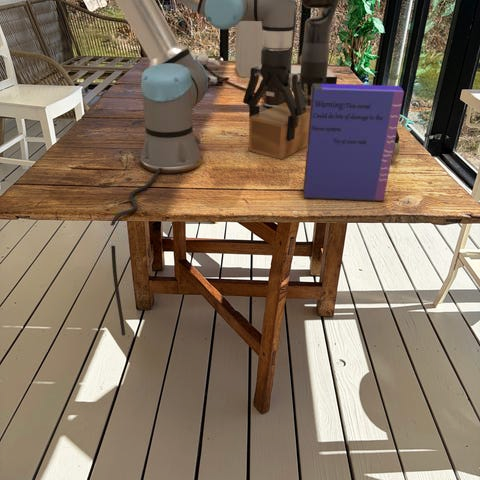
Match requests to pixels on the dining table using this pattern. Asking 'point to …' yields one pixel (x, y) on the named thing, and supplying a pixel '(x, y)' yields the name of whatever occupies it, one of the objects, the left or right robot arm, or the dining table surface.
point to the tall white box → (248, 47)
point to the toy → (204, 59)
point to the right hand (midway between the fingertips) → (309, 119)
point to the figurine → (217, 79)
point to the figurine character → (396, 146)
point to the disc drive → (329, 78)
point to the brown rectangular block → (277, 132)
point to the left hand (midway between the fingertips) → (272, 135)
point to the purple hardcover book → (351, 141)
